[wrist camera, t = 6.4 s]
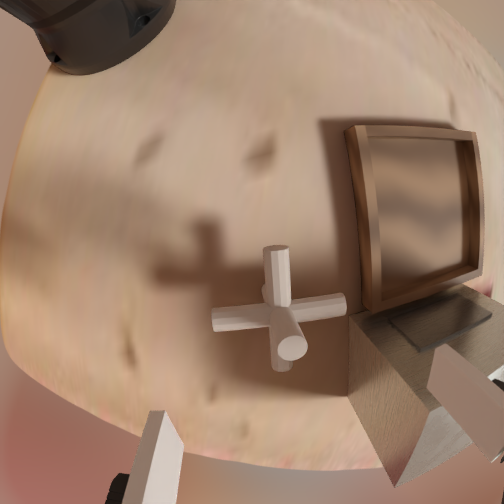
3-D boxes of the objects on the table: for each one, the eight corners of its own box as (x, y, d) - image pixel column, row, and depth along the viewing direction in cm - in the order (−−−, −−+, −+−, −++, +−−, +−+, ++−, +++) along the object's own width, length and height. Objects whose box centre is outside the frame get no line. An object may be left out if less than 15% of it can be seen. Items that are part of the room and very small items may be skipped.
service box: (348, 310, 26) (432, 405, 11) (457, 276, 26) (545, 322, 12) (347, 399, 29) (393, 489, 14) (444, 360, 29) (504, 418, 15)
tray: (343, 130, 22) (354, 125, 20) (462, 134, 23) (475, 132, 20) (361, 303, 26) (372, 313, 24) (469, 269, 26) (481, 275, 24)
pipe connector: (210, 241, 24) (193, 277, 14) (321, 231, 24) (374, 257, 14) (223, 341, 26) (220, 413, 16) (322, 329, 26) (360, 391, 17)
